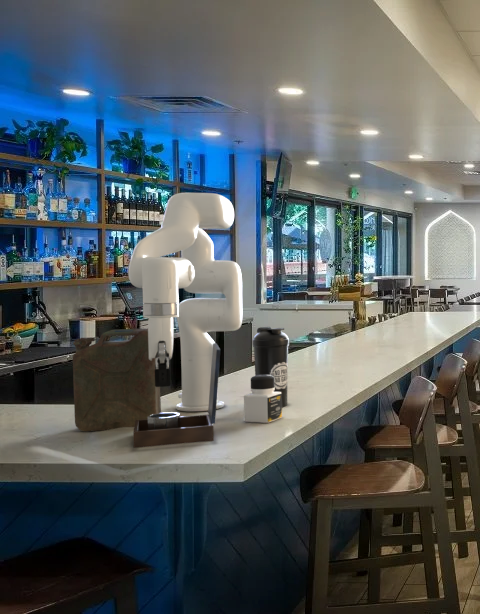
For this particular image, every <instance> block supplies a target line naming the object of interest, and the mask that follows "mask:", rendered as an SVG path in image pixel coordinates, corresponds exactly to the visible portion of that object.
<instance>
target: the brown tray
mask: <svg viewBox="0 0 480 614" xmlns="http://www.w3.org/2000/svg"><path fill="white" fill-rule="evenodd" d="M180 422H181V428H171V429H159V430H148V419H143V420H135V425H134V427H133V432H132V435H133V439H132V440H133V448H134V449H136V448H138V449H139V448H148V447H159V446H160V447H161V446H171V445H181V444H192V443H193V444H194V443H201V442H213V441H214V424H211V421H210V417H209V414H196V415H195V414H194V415H182V416H180Z"/></svg>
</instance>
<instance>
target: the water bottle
mask: <svg viewBox="0 0 480 614" xmlns="http://www.w3.org/2000/svg"><path fill="white" fill-rule="evenodd" d="M284 330H285V327H276V328H272V327H271V326H260V327H258V328H257V329H256V333H255V335H254V336H253V338H252V339H251V341H252V347H253V356H254V360H253V361H254V376H256V375H271V376H273V377H274V378H275V390H274V392H281V393H282V408H284V407H287V406H288V392H289V391H288V387H289V385H288V384H289V383H288V382H289V381H288V379H289V378H288V377H289V346H290V337H289V336H288V335H287V333H285V332H283V331H284Z"/></svg>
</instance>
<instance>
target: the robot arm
mask: <svg viewBox="0 0 480 614" xmlns="http://www.w3.org/2000/svg"><path fill="white" fill-rule="evenodd" d="M165 207H166V208H165V210H164V214H163V218H162V222H161V225H160V228H158V229H156V230H154V231H153V232H151V233H149V234H148V235H146V236H145V237H143V238H142V239H141V240H140V241H138V243H137V244H136V245H135V247H134V248H133V251H132V254H131V257H130V261H129V264H128V279H129V282H130V284H131V285H132V286H134V287H135V288H137V289H142V317H143V319H148V321H147V328H148V349H149V360H151V361H152V358H155V360H156V365H155V386H156V387H160V388H162V387H163V388H165V387H170V386H171V384H172V383H171V363H170V360H172V358H173V353H174V318H176V321H177V326H178V331H179V332H178V333H179V339H180V360H181V361H180V364H181V365H180V366H181V367H180V368H181V393H178V395H177V397H178V398H179V399H181V402H180V403H177V404H176V410H177V411H180V412H205V411H206V412H208V407H209V393H210V379H211V365H212V351H213V343H216V342H215V341H214V339H213V338H212V337H211V336H210V335H209V334H208V333H211V332H234V331H237V330H239V329H240V328H241V326H242V324H243V277H242V270H241V267H240V265H239V264H238V263H237V262H235V261H234V260H220V259H219V260H217V259H215V258H214V257H215V256H214V255H215V254H214V253H215V252H214V241H213V240H212V239H211V237H210V235H208V233H207V232H206V231H205V229H206V230H207V229H208V230H211V229H212V230H227V229H229V228H231V226H232V225H233V223H234V220H235V209H234V205H233V204H232V201H230V199H228V198H227V197H226V196H224V195H221V194H218V193H216V192H215V193H213V192H179V193H175V194H173V195H172V196H171V197H170V198H169V199H168V201H167V204H166V206H165ZM178 252H180V253H181V256H180V257H168V256H167V255H173V254H175V253H178ZM164 256H165V257H164ZM166 256H167V257H166ZM179 289H183V290H184V291H185V292H187V293H191V294H222V295H224V297H216V298H213V297H194V298H187V299H184V300H182V301H181V302H180V299H179ZM155 356H156V357H155ZM224 406H225V402H224V401H222V400H219V388H218V389H217V403H216V410H218V409H221V408H223V407H224Z"/></svg>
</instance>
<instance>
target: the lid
mask: <svg viewBox="0 0 480 614" xmlns="http://www.w3.org/2000/svg"><path fill="white" fill-rule="evenodd" d="M220 361H221V348H220V347H219V345H218V343H216V342H215V343H213V351H212V365H211V379H210V393H209V407H208V410H207V413H208V414H209V417H210V421H211V424H213V425H215V424H216V417H217V409H216V403H217V389H218V390H219V375H220ZM208 414H207V415H208Z"/></svg>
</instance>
